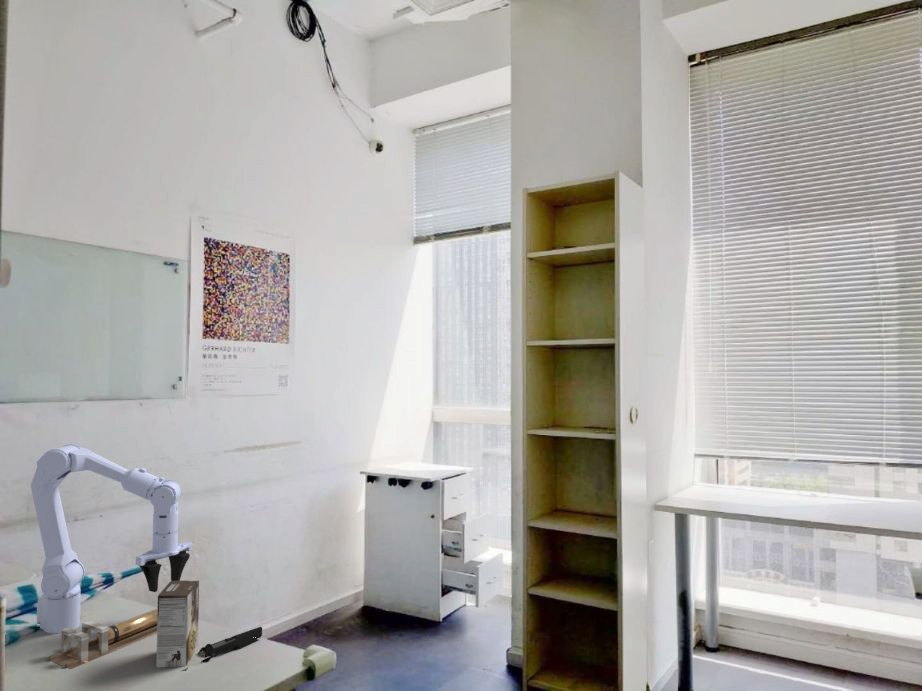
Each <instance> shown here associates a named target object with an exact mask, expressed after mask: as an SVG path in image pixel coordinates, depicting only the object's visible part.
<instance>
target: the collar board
mask: <svg viewBox="0 0 922 691" xmlns="http://www.w3.org/2000/svg"><path fill="white" fill-rule="evenodd" d="M108 629H109V626H107V625H104V624H100V623H98V622H94V621H92V620H86V621H83V622H81V631H80V632H77V633H76V629H71V628H66V629H63V630H62V632H61V633H60V634H61V637H60V638H61V639H60V640H61V641H60V643H61V644H60V645H61V646H60V652H57V653H54V654H52V655H49V656H48V658H46V659H45V660H46V661H48V662H51V663H53V664H56V665H59V666H61V667H64V668H66V669H68V670H72V669H75V668H77V667H79V666H82V665H84V664H87V663H89V662H92V661H94V660H96V659H99V658H102V657H105V656H106V655H108V654H111V653H114V652H116V651H118V650H121V649H123V648H125V647H127V646H130V645H132V644H134V643H137V642H140V641H142V640H144V639H147V638H149V637H151V636H154V635H157V625H156V626H153V627H151V628H148V629H146V630H143V631H141V632H138V633H136V634H133V635H131V636H128V637H126V638H123V639H121V640H118V641H116V642H114V643H111V644H108ZM92 631H95V632H96V633H97V632H99V644H98V643H97V639H96V638H93V639H92ZM72 636H73V639H76V640H78V644H77V645H75V646H72Z"/></svg>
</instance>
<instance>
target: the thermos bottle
mask: <svg viewBox="0 0 922 691" xmlns="http://www.w3.org/2000/svg"><path fill="white" fill-rule="evenodd" d="M157 613H158V608H155V609H152V610H150V611H148V612H144V613H142V614H139V615H137V616H134V617H131V618H129V619H126V620H123V621H121V622H118V623H116V624H113V625H109V626H108V627H109V629H108V644H111V643H114V642H116V641H118V640H121V639H123V638H126V637H128V636H131V635H133V634H136V633H138V632H141V631H143V630H146V629H148V628H151V627H153V626H156V625H157ZM96 639H97V643H98V644H99V632H97V631H96Z"/></svg>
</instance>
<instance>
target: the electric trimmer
mask: <svg viewBox="0 0 922 691" xmlns="http://www.w3.org/2000/svg"><path fill="white" fill-rule="evenodd" d="M262 636H263V627H262V626H259V627H255V628H252V629H250V630H247V631H244V632H241V633H238V634H234V635H232V636H231V637H228V638H225V639H221V640H220V641H219V640H218V641H217V642H214V643H212V644H211V643H207V644H206V645H205V646H202V647H201V648H200V649H199V651H198V653H197V654H199V655H201V656H203V657H204V658H205V659H202V660H201V661H200V662H201V663H208V662H210V660H211V659H213V658H215V657H218V656H221V655H222V654H225V653H227V651H228V652H230V651H233V650H235V649H234V648H239V649H241V647H242V648H243V646H244V647H245V645H246V646H247V644H248V645H249V644H252V643H253V642H255V641H257V640H258V639H257V638H259V639H261V637H262ZM253 637H254V638H253ZM255 637H256V638H255Z"/></svg>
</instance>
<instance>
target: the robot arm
mask: <svg viewBox="0 0 922 691" xmlns="http://www.w3.org/2000/svg"><path fill="white" fill-rule="evenodd" d="M84 471H85V472H86V471H90V472H92V473H95V474H97V475H101V476H103V477H106V478H108V479H111V480H114V481H117V482H118V483H120V484H121V486H122V489H123V490H124V491H126V492H128V493H131V494H133V495H135V496H137V497H140V498H142V499H145V500H147V501H150V503H151V504H152V506H153V515H152V548H151V550H148V551H146V552H144V553H142V554H139V555H136V556H135V565H136V566H139V568H140V570H141V571H142V573H143V574H144V577H145V579H146V583H147V587H148V591H149V592H152V593H157V592H158V588H159V576H160V572H161V569H162V564H160V563H158V562H157V561H159V560H162V559H164V558H165V559H166V558H168V560H169V565H170V581H181V578H182V573H183V571H184V568H185V566H186V564H187V562H188V560H189V559H190V558H191V557H190V556H191V555H190V553H188V552H191V551H193V542H192V541H191V542H190V541H185V542H180V543H179V515H180V514H179V501H178V500H179V499H180V497H181V495H182V487H181V486H180V484H179V483H178V482H176V481H175V480H173V479H166V478H165V477H163V476H160V477H159V476H156V475H154V474H152V473H149V472H147V471H148V469H146V468H144V467H141V468H137V467H135V468H132V469H128V468H125V467H124V466H121V465H119V464H118V463H115V462H113V461H111V460H109V459H108V458H106V457H104V456H102V455H99V454H98V453H95V452H93V451H92V450H90V449H88V448H86V447H81V446H79V445H78V444H73V443H70V444H65V445H63V446H61V447H58V448H52V449H49V450H47V451H46V452H44V453H43V455H42V456H41V457H40V458H39V459H38V460H37V461H36V469H35V472H34V474H33V478H32V480H31V482H30V489H31V494H32V500H33V503H34V508H35V513H36V517H37V522H38V526H39V532H40V536H41V542H42V546H43V551H44V554H45V560H44V563H43V566H42V569H41V572H42V580H41V583H40V589H41V591H42V593H43V594H42V595H41V596H39V599H38V601H37V604H36V625H37V624H40V628H39V629H41V630H43V631H44V632H45V633H47V634H61V632H62V630H63V629H66V628H71V629H74V630H76V629H77V628H79V626H80V625H81V586H80V582H82V581H83V580H84V579H85V578H84V577H85V575H86V570H85V567H84V565H83V564H82V562H81V561H80V560H79V557H78V553H77V552H75V550H73V549H72V546H71V540H70V536H69V531H68V527H67V526H68V525H67V523H66V517H65V513H64V509H63V503H62V499H61V493H60V489H59V486H60V485H61V484H62V483H63V481H64V480H65V479H66V478H67V476H68V475H69V474H71V473H77V472H84ZM165 479H166V480H165Z"/></svg>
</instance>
